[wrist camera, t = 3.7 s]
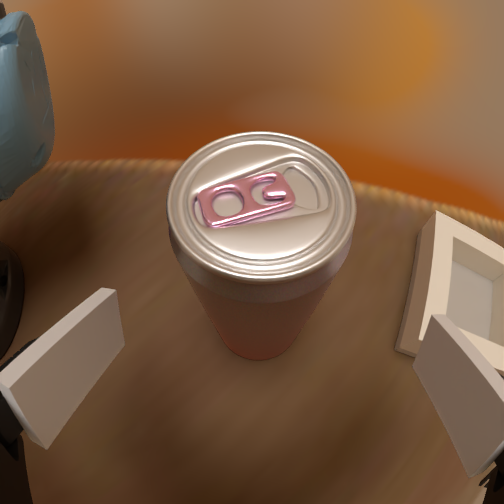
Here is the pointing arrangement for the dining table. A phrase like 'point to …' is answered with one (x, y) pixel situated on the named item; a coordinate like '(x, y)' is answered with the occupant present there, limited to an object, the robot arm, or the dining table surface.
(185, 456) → the dining table surface
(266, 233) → the beverage can
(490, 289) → the holder
